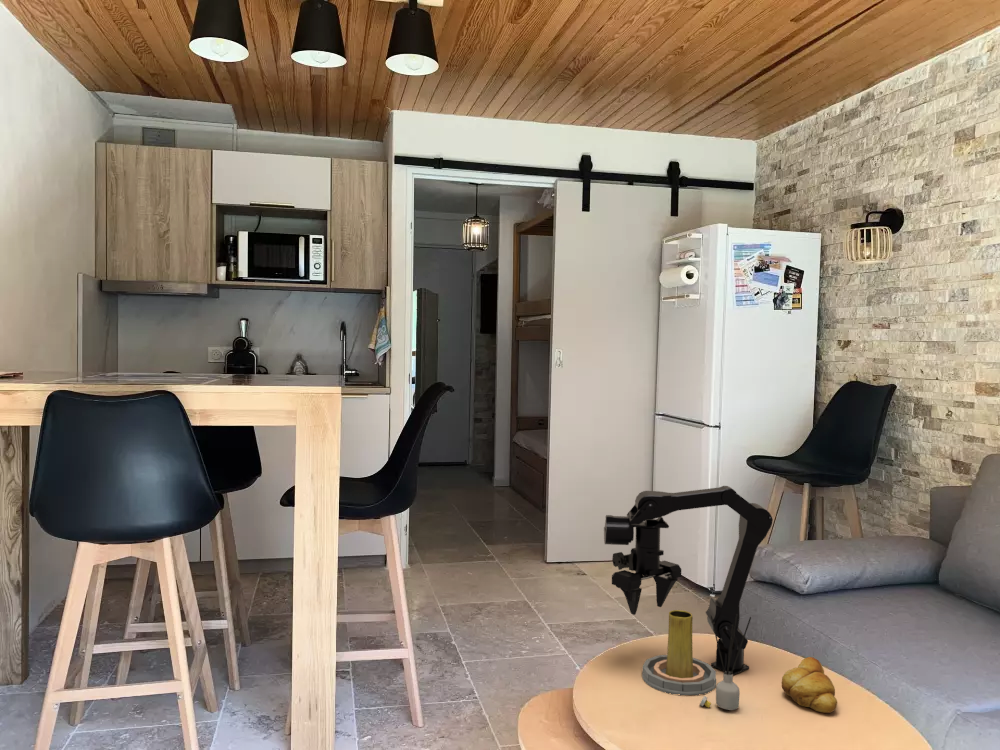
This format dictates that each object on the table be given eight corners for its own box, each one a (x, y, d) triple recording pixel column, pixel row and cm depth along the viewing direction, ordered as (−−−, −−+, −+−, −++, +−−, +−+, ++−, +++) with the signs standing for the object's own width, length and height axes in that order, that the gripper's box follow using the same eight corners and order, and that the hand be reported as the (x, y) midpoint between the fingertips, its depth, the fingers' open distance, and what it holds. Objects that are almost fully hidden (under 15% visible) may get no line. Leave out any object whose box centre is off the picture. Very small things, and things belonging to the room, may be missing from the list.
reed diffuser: (745, 703, 157) (747, 610, 157) (755, 719, 151) (757, 621, 150) (696, 701, 158) (698, 608, 157) (705, 717, 151) (707, 620, 150)
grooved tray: (673, 658, 180) (674, 648, 180) (731, 683, 167) (731, 672, 167) (627, 675, 170) (627, 665, 170) (684, 702, 157) (684, 691, 157)
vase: (693, 682, 165) (695, 619, 165) (665, 680, 166) (666, 617, 166) (692, 671, 171) (693, 610, 171) (665, 669, 172) (666, 608, 172)
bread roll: (847, 717, 152) (848, 678, 152) (802, 718, 151) (803, 679, 151) (815, 688, 165) (816, 653, 165) (773, 690, 164) (774, 654, 164)
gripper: (648, 533, 188) (647, 594, 188) (595, 543, 177) (594, 608, 177) (683, 542, 179) (682, 606, 179) (630, 554, 168) (629, 622, 168)
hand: (646, 610), depth 176 cm, fingers open, 9 cm apart
